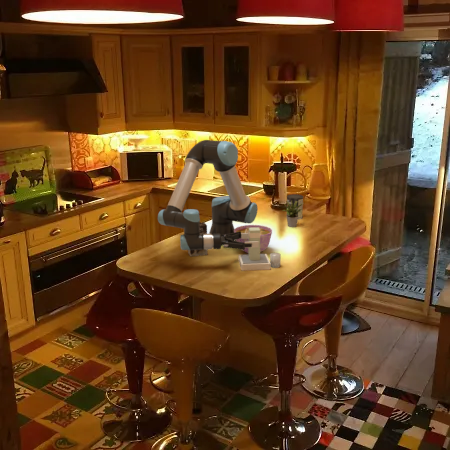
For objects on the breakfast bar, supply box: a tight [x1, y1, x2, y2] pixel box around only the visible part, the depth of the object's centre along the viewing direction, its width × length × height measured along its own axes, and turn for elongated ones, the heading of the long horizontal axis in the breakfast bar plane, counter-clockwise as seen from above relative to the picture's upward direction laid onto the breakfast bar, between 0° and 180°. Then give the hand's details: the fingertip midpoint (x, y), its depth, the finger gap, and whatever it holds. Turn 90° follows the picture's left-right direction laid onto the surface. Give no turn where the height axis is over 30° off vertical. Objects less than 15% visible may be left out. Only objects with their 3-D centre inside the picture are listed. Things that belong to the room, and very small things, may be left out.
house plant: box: [282, 200, 304, 228], centre depth 322 cm, size 14×14×16 cm
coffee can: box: [286, 193, 304, 220], centre depth 342 cm, size 10×10×14 cm
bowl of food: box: [234, 224, 273, 254], centre depth 281 cm, size 20×20×12 cm
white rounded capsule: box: [269, 252, 282, 269], centre depth 261 cm, size 5×5×6 cm
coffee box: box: [187, 222, 208, 257], centre depth 277 cm, size 9×6×16 cm
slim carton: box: [247, 227, 261, 260], centre depth 260 cm, size 5×5×15 cm
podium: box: [238, 253, 272, 272], centre depth 263 cm, size 14×14×3 cm
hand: (256, 239), depth 259 cm, fingers open, 13 cm apart
